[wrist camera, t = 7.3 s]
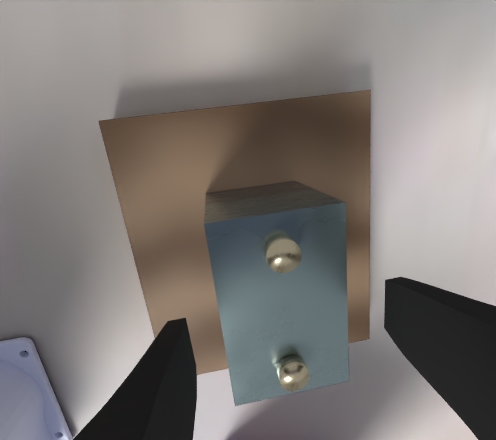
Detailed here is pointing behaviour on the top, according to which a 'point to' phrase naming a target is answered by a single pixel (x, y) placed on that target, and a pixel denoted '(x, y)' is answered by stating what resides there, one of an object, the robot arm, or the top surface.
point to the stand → (233, 177)
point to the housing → (280, 287)
